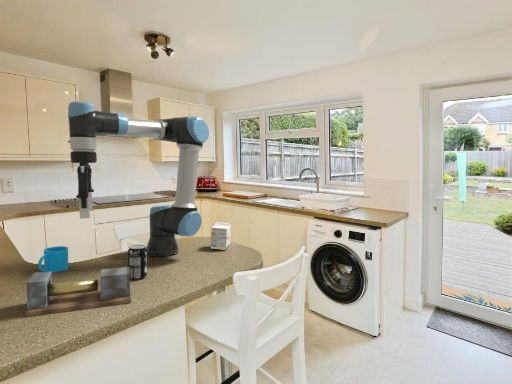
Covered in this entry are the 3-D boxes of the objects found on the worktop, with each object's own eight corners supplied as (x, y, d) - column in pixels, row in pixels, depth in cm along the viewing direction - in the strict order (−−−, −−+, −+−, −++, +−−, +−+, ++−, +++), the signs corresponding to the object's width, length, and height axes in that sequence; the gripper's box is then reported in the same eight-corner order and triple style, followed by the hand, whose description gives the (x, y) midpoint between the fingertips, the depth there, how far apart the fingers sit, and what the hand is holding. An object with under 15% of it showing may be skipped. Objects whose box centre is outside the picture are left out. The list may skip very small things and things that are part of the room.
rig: (129, 288, 108) (129, 262, 108) (130, 302, 97) (130, 274, 97) (36, 299, 98) (35, 270, 97) (25, 316, 87) (24, 285, 86)
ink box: (210, 249, 160) (210, 223, 159) (214, 245, 168) (215, 220, 167) (226, 251, 159) (227, 224, 157) (230, 246, 167) (231, 222, 166)
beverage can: (142, 273, 123) (142, 243, 122) (149, 277, 119) (149, 246, 118) (125, 277, 119) (125, 245, 118) (132, 282, 114) (132, 249, 113)
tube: (98, 288, 101) (98, 277, 100) (97, 292, 97) (97, 281, 97) (38, 295, 94) (38, 283, 94) (35, 300, 91) (35, 287, 91)
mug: (56, 264, 130) (56, 245, 129) (73, 267, 128) (73, 247, 127) (29, 274, 118) (29, 253, 117) (47, 277, 116) (47, 255, 116)
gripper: (74, 150, 113) (78, 208, 116) (64, 150, 90) (68, 222, 93) (98, 151, 116) (100, 207, 119) (93, 150, 93) (97, 220, 96)
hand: (86, 214), depth 106 cm, fingers open, 13 cm apart
